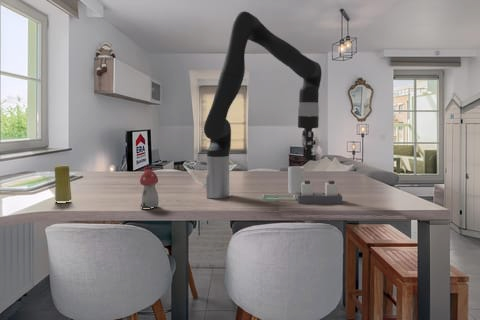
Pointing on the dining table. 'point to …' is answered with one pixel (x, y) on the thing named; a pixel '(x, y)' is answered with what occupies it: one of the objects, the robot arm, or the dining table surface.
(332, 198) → the grey rectangular frame
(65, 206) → the dining table surface
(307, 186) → the plug
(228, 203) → the dining table surface
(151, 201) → the decorative ornament
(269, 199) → the tray
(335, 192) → the twin plug
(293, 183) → the mug
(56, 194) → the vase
